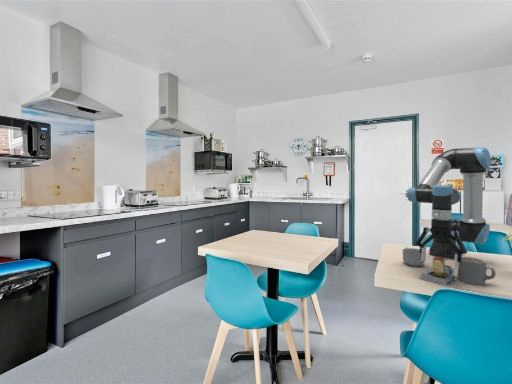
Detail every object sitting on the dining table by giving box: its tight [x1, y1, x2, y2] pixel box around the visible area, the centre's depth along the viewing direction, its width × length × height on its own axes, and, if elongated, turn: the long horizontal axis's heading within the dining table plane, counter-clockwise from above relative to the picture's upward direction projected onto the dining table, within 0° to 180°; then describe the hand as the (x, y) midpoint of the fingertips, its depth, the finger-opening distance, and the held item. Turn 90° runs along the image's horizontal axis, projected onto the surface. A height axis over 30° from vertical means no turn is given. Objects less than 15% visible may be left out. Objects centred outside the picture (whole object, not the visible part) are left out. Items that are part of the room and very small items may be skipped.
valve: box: [431, 256, 447, 279], centre depth 129 cm, size 6×6×10 cm
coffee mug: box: [456, 256, 497, 287], centre depth 127 cm, size 13×10×10 cm
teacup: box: [402, 247, 426, 267], centre depth 154 cm, size 14×11×8 cm
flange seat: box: [419, 264, 458, 287], centre depth 131 cm, size 17×11×5 cm, turn 126°
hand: (439, 264), depth 130 cm, fingers open, 13 cm apart
